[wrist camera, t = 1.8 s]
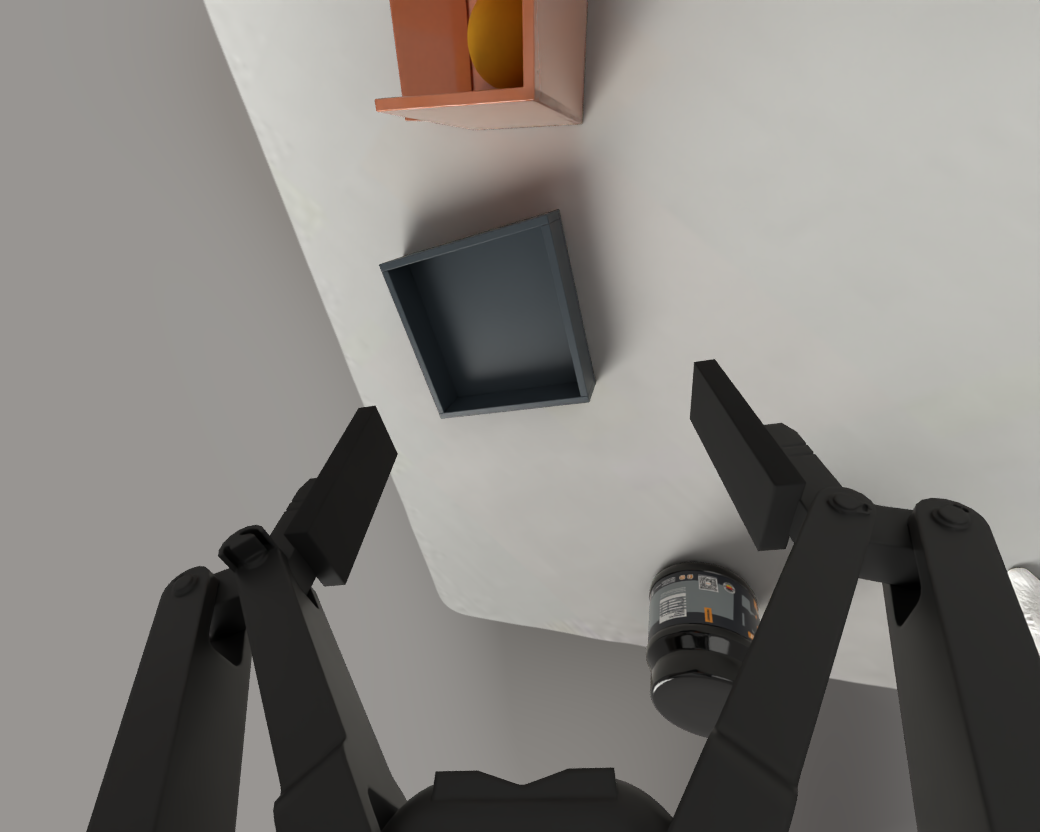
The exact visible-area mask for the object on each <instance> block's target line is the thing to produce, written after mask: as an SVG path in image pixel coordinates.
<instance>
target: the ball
mask: <svg viewBox="0 0 1040 832" xmlns="http://www.w3.org/2000/svg"><path fill="white" fill-rule="evenodd" d="M467 40H468V49H469V53H470V57H471V60H472V62H473V64H474V67H475V68H476V70H477V72H478V73H479V75H480V76H481V77H482V78H483V79H484V80H485V81H486V82H487V83H488V84H490V85H491V86H493V87H495V88H497V89H503V88H515V87H523V17H522V0H477V2H476V4H475V5H474V7H473V9H472V12H471V15H470V18H469V23H468V32H467Z"/></svg>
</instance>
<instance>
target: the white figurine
mask: <svg viewBox="0 0 1040 832" xmlns="http://www.w3.org/2000/svg"><path fill="white" fill-rule="evenodd" d="M1008 575H1009V578H1010V581H1011V583H1012V586H1013V588H1014V591H1015V593H1016V596H1017V599H1018V601H1019V604H1020V606H1021V609H1022V612H1023V614H1024V617H1025V619H1026V622H1027V624H1028V627H1029V630H1030V632H1031V635H1032V637H1033V640H1034V642H1035V645H1036V648H1037V650H1038V653H1039V655H1040V580H1039V579H1038V578H1036V577H1035V576H1034V575H1033V574H1032V573H1031V572H1029V571H1028V570H1027V569H1024V568H1013V569H1011V570H1009V571H1008Z"/></svg>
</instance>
